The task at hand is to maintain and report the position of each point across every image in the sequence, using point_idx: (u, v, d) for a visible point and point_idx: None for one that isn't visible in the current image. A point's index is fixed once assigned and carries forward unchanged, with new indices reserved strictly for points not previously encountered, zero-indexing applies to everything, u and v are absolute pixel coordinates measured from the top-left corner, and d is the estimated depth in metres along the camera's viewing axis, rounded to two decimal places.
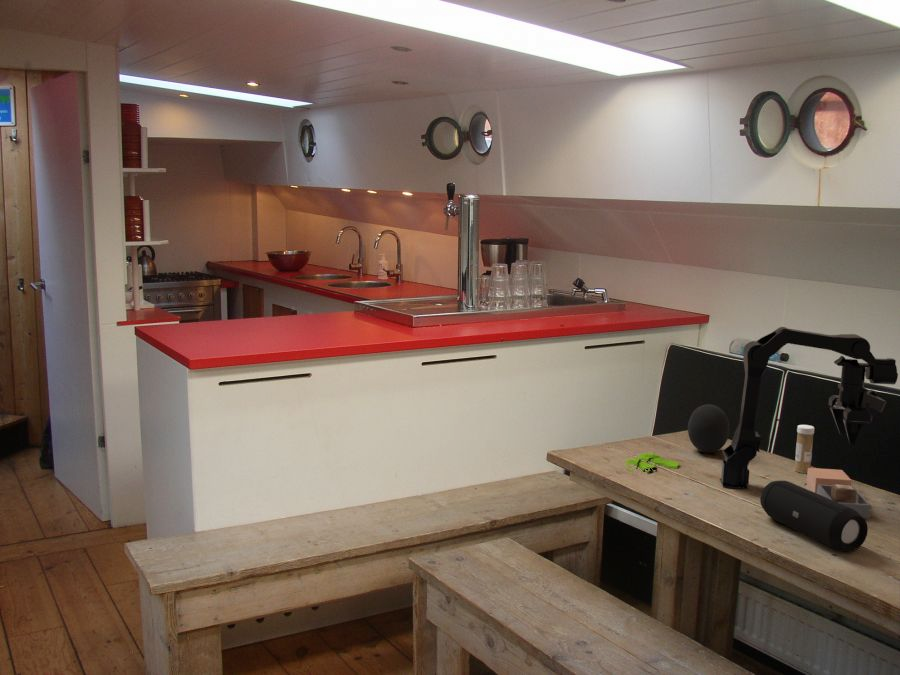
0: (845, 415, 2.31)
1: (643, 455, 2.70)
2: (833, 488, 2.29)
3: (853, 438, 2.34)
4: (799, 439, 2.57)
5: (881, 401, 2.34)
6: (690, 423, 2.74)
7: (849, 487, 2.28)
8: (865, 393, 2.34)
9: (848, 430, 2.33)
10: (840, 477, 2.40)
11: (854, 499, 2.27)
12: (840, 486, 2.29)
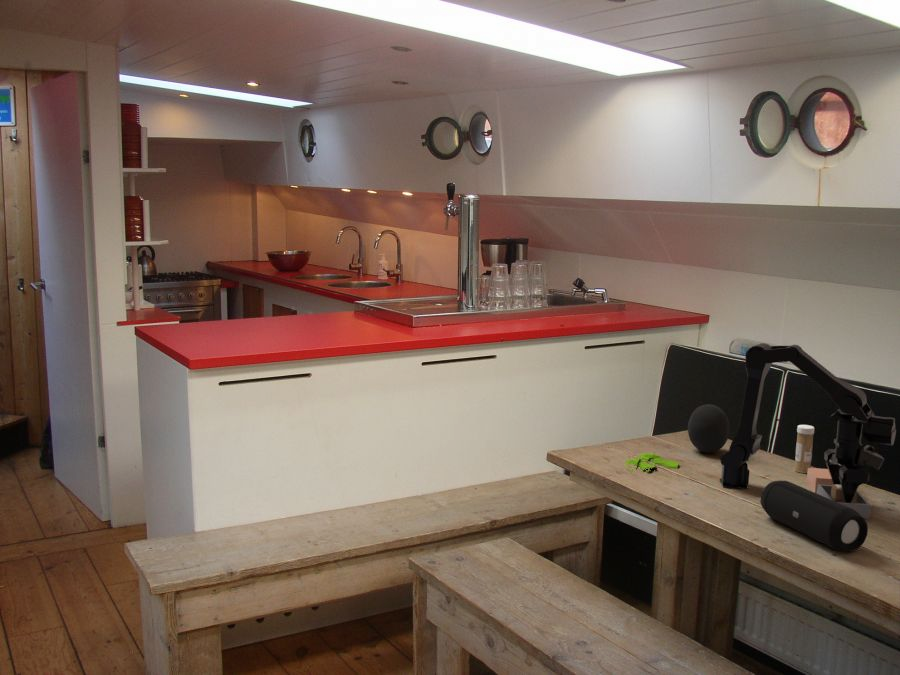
0: (841, 474, 2.21)
1: (643, 455, 2.70)
2: (833, 488, 2.29)
3: (849, 497, 2.24)
4: (799, 439, 2.57)
5: (879, 458, 2.24)
6: (690, 423, 2.74)
7: None
8: (862, 450, 2.24)
9: (844, 489, 2.23)
10: None
11: (854, 499, 2.27)
12: (840, 486, 2.29)
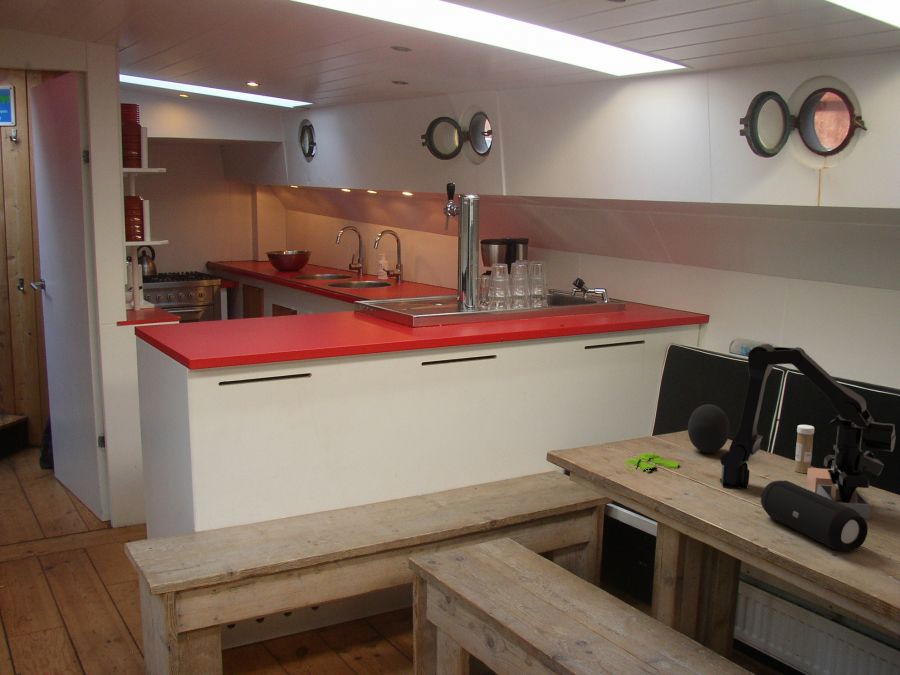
0: (841, 480, 2.21)
1: (643, 455, 2.70)
2: (833, 488, 2.29)
3: (846, 500, 2.26)
4: (799, 439, 2.57)
5: (878, 464, 2.24)
6: (690, 423, 2.74)
7: None
8: (862, 456, 2.24)
9: (841, 492, 2.25)
10: None
11: (854, 499, 2.27)
12: None
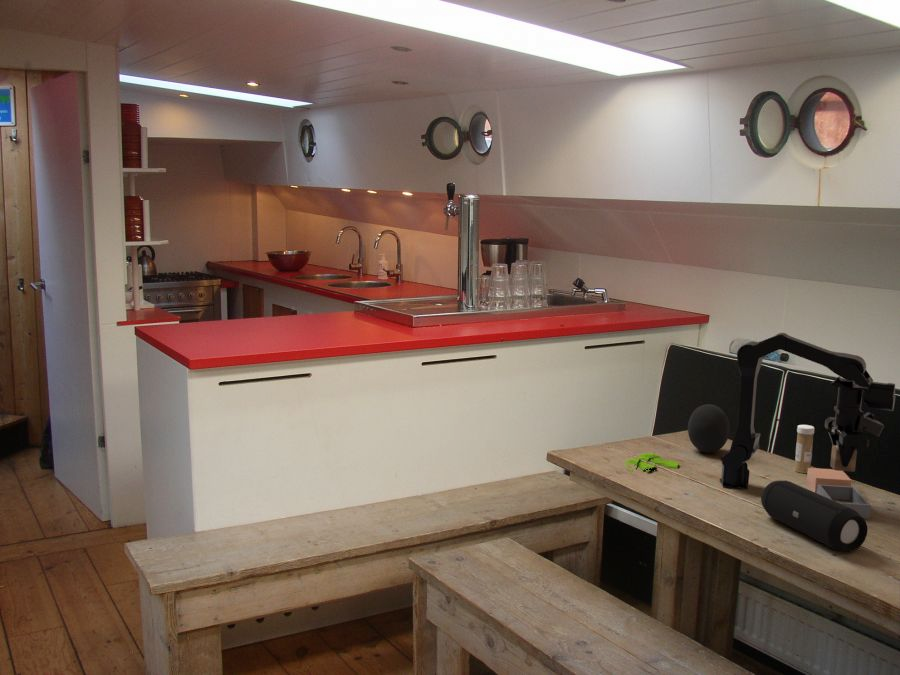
0: (840, 439, 2.22)
1: (643, 455, 2.70)
2: (833, 449, 2.30)
3: (846, 460, 2.27)
4: (799, 439, 2.57)
5: (879, 425, 2.25)
6: (690, 423, 2.74)
7: None
8: (862, 416, 2.25)
9: (841, 452, 2.26)
10: (840, 477, 2.40)
11: (854, 459, 2.28)
12: None
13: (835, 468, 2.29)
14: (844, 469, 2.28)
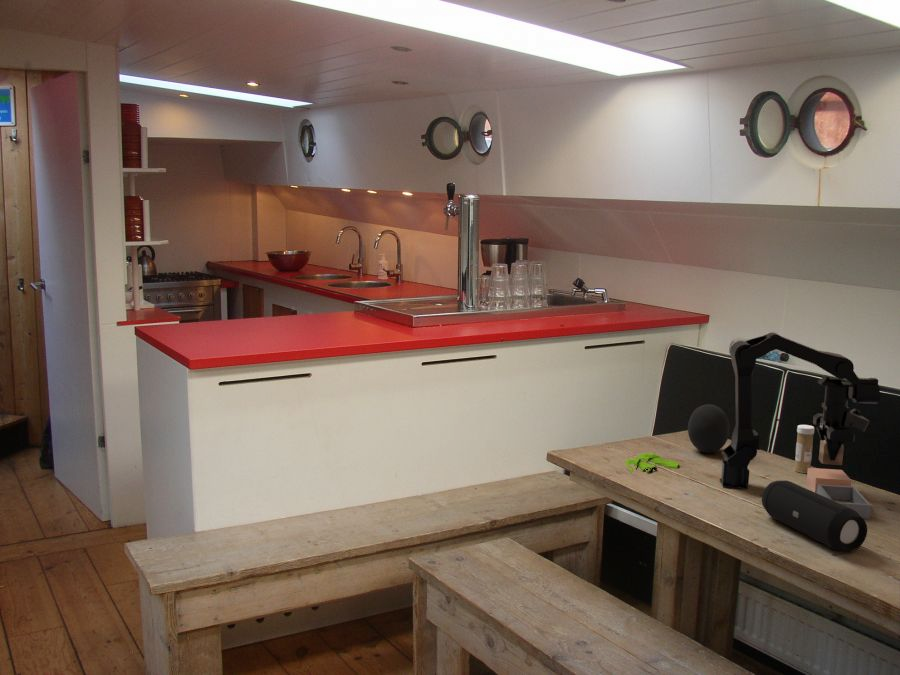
0: (828, 434, 2.34)
1: (643, 455, 2.70)
2: (821, 443, 2.42)
3: (834, 454, 2.38)
4: (799, 439, 2.57)
5: (864, 420, 2.36)
6: (690, 423, 2.74)
7: None
8: (848, 412, 2.37)
9: (829, 446, 2.38)
10: (840, 477, 2.40)
11: (841, 453, 2.39)
12: None
13: (823, 462, 2.40)
14: (832, 463, 2.40)
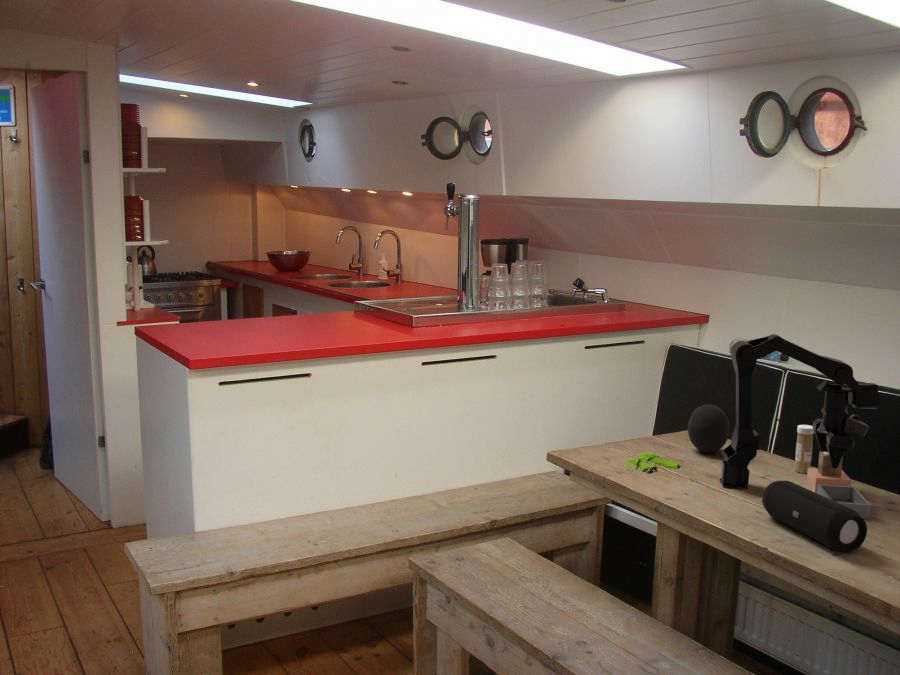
0: (828, 440, 2.34)
1: (643, 455, 2.70)
2: (820, 455, 2.42)
3: (836, 462, 2.36)
4: (799, 439, 2.57)
5: (864, 426, 2.37)
6: (690, 423, 2.74)
7: None
8: (848, 418, 2.37)
9: (831, 455, 2.36)
10: (840, 477, 2.40)
11: (840, 465, 2.40)
12: (827, 453, 2.41)
13: (822, 473, 2.41)
14: (831, 474, 2.40)
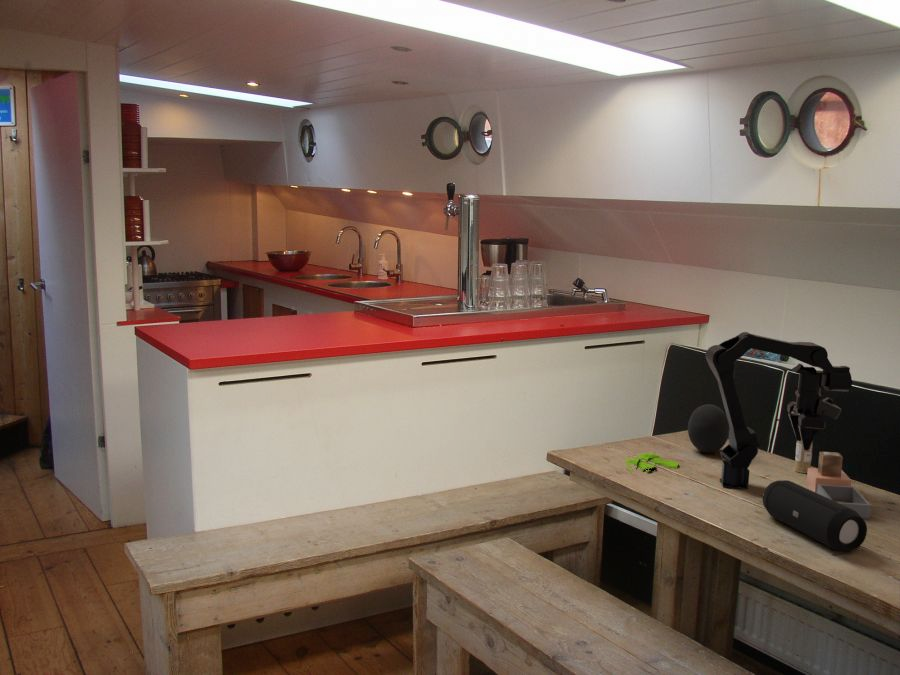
0: (799, 421, 2.36)
1: (643, 455, 2.70)
2: (820, 455, 2.42)
3: (807, 444, 2.39)
4: None
5: (836, 409, 2.39)
6: (690, 423, 2.74)
7: (836, 454, 2.41)
8: (821, 400, 2.39)
9: (802, 436, 2.38)
10: (840, 477, 2.40)
11: (840, 465, 2.40)
12: (827, 453, 2.41)
13: (822, 473, 2.41)
14: (831, 474, 2.40)
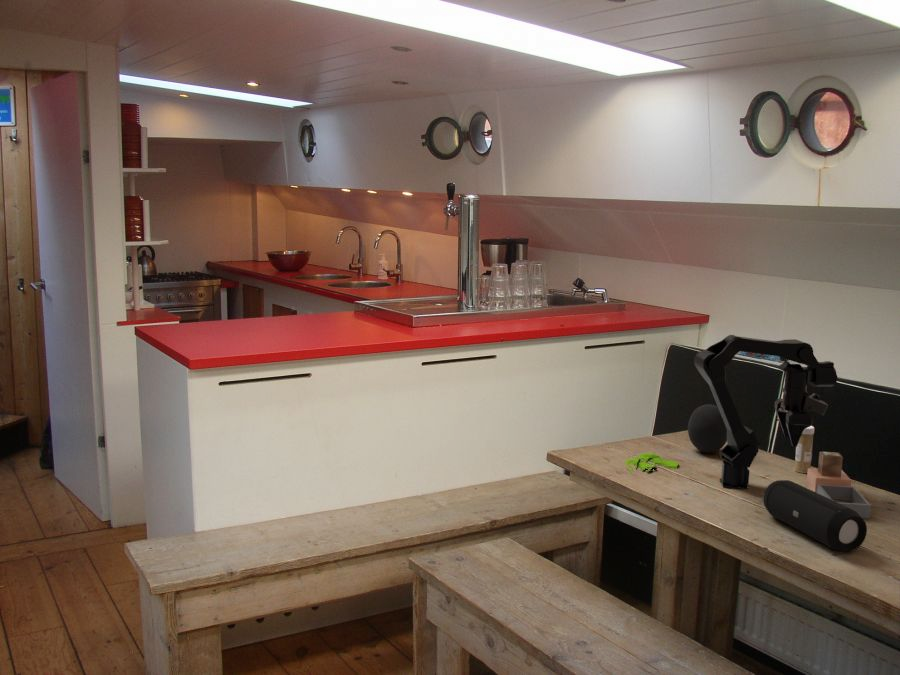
0: (787, 418, 2.37)
1: (642, 455, 2.70)
2: (820, 455, 2.42)
3: (795, 441, 2.40)
4: None
5: (823, 404, 2.40)
6: (690, 423, 2.74)
7: (836, 454, 2.41)
8: (807, 397, 2.40)
9: (790, 433, 2.39)
10: (840, 477, 2.40)
11: (840, 465, 2.40)
12: (827, 453, 2.41)
13: (822, 473, 2.41)
14: (831, 474, 2.40)
